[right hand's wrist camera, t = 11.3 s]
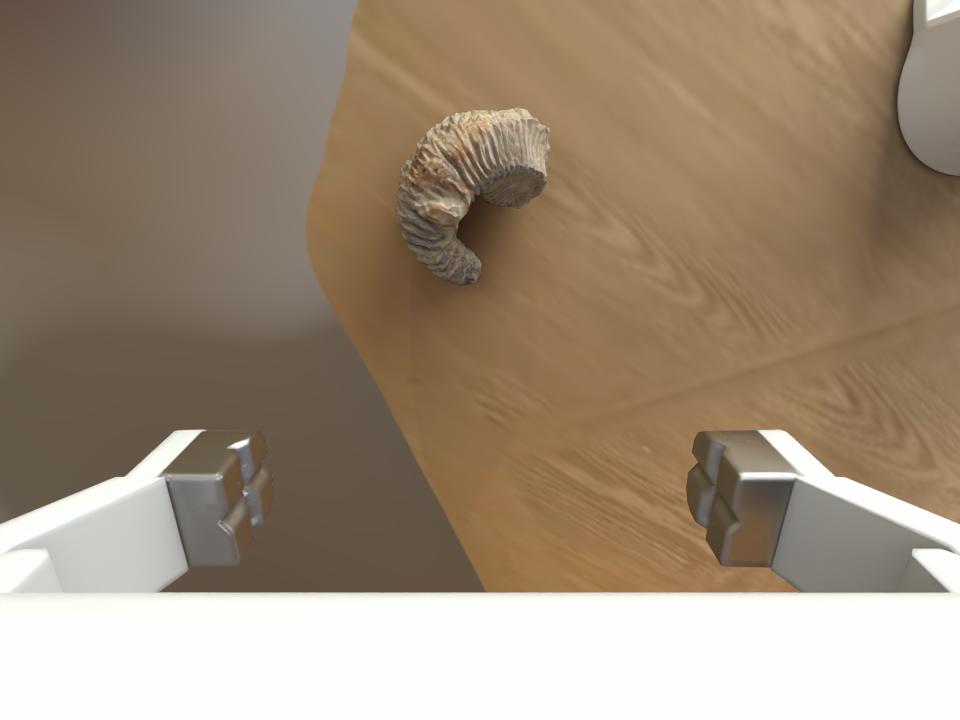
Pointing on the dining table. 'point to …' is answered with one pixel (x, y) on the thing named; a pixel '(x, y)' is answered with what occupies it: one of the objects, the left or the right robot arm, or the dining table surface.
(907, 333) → the dining table surface
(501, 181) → the seashell
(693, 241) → the dining table surface
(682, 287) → the dining table surface
